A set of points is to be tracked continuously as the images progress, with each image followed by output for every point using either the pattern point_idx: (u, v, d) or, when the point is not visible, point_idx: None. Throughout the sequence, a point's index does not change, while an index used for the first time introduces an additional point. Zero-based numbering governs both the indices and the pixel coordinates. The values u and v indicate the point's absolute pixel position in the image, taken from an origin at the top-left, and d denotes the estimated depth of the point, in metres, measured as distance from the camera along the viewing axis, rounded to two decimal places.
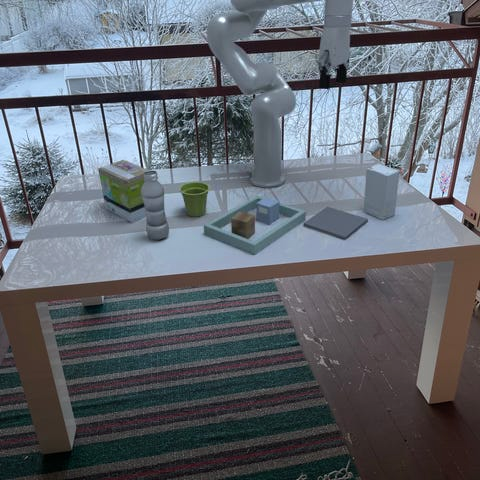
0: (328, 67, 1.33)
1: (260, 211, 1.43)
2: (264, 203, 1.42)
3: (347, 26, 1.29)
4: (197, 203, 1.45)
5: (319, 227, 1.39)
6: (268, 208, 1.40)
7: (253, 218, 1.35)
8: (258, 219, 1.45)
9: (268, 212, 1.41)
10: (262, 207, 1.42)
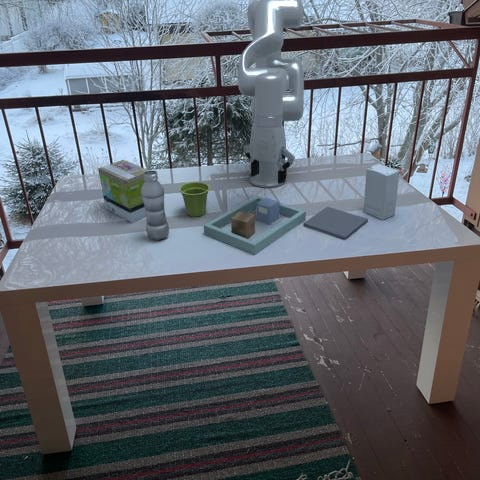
0: (285, 161, 1.33)
1: (260, 211, 1.43)
2: (264, 203, 1.42)
3: None
4: (197, 203, 1.45)
5: (319, 227, 1.39)
6: (268, 208, 1.40)
7: (253, 218, 1.35)
8: (258, 219, 1.45)
9: (268, 212, 1.41)
10: (262, 207, 1.42)
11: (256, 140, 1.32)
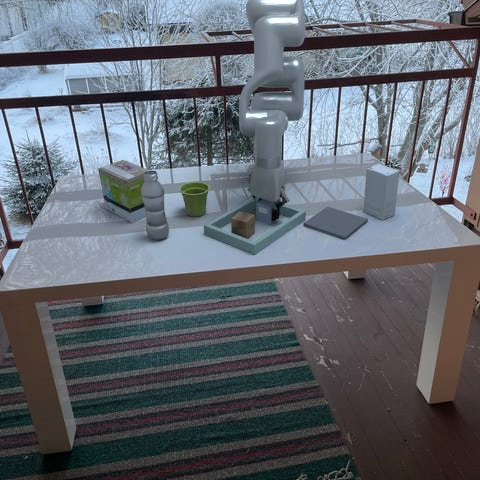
0: (279, 201, 1.41)
1: (260, 211, 1.43)
2: (264, 203, 1.42)
3: None
4: (197, 203, 1.45)
5: (319, 227, 1.39)
6: (268, 208, 1.40)
7: (253, 218, 1.35)
8: (258, 219, 1.45)
9: (268, 212, 1.41)
10: (262, 207, 1.42)
11: (256, 179, 1.38)
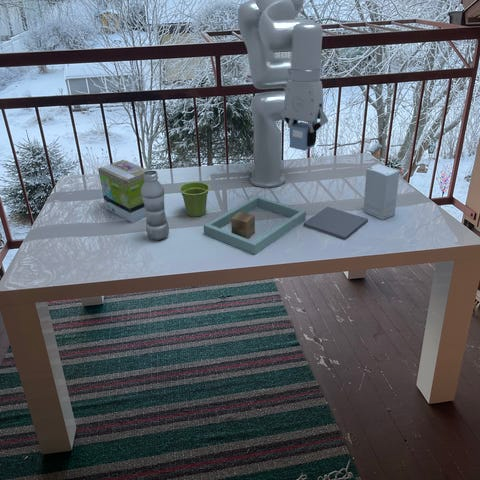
0: (317, 123, 1.27)
1: (294, 135, 1.29)
2: (299, 126, 1.28)
3: None
4: (197, 203, 1.45)
5: (319, 227, 1.39)
6: (304, 130, 1.26)
7: (253, 218, 1.35)
8: (291, 145, 1.31)
9: (303, 135, 1.27)
10: (296, 130, 1.28)
11: (291, 97, 1.24)
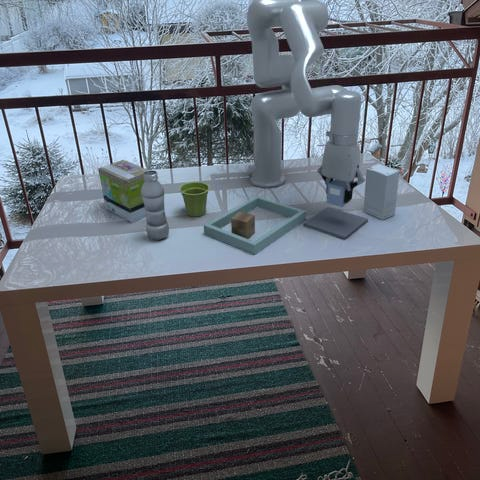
0: (353, 181, 1.33)
1: (331, 192, 1.35)
2: (336, 184, 1.34)
3: None
4: (197, 203, 1.45)
5: (319, 227, 1.39)
6: (341, 189, 1.33)
7: (253, 218, 1.35)
8: (328, 201, 1.37)
9: (341, 193, 1.33)
10: (334, 188, 1.34)
11: (329, 158, 1.31)
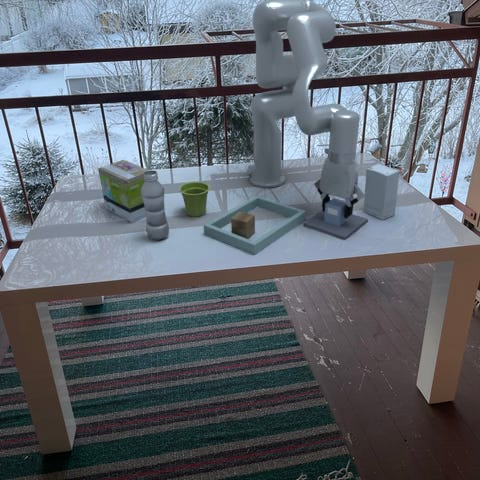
0: (353, 197, 1.36)
1: (329, 212, 1.39)
2: (333, 204, 1.38)
3: None
4: (197, 203, 1.45)
5: (319, 227, 1.39)
6: (339, 209, 1.36)
7: (253, 218, 1.35)
8: (326, 220, 1.41)
9: (338, 213, 1.37)
10: (331, 208, 1.38)
11: (328, 175, 1.34)
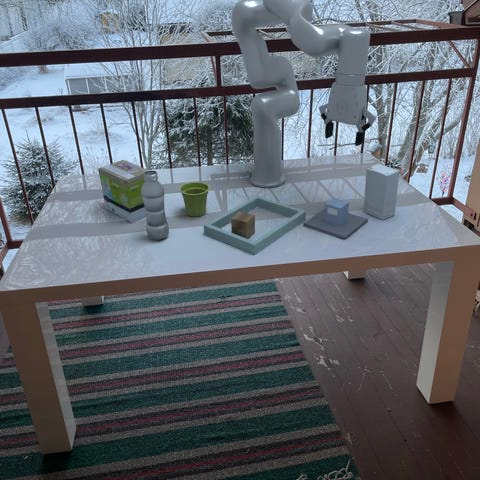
0: (364, 123, 1.29)
1: (329, 212, 1.39)
2: (333, 204, 1.38)
3: None
4: (197, 203, 1.45)
5: (319, 227, 1.39)
6: (339, 209, 1.36)
7: (253, 218, 1.35)
8: (326, 220, 1.41)
9: (338, 213, 1.37)
10: (331, 208, 1.38)
11: (335, 99, 1.28)
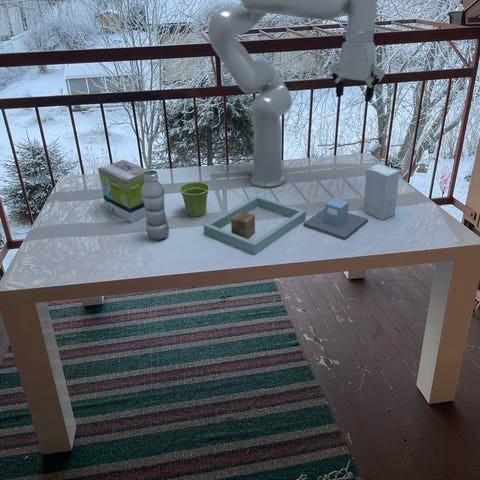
0: (373, 79, 1.38)
1: (329, 212, 1.39)
2: (333, 204, 1.38)
3: None
4: (197, 203, 1.45)
5: (319, 227, 1.39)
6: (339, 209, 1.36)
7: (253, 218, 1.35)
8: (326, 220, 1.41)
9: (338, 213, 1.37)
10: (331, 208, 1.38)
11: (346, 57, 1.37)
